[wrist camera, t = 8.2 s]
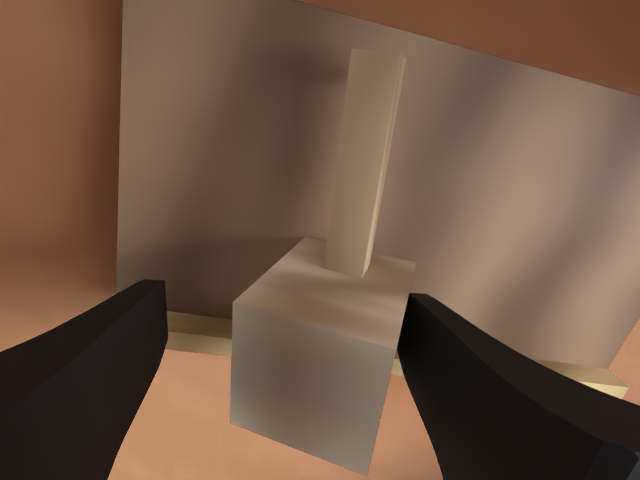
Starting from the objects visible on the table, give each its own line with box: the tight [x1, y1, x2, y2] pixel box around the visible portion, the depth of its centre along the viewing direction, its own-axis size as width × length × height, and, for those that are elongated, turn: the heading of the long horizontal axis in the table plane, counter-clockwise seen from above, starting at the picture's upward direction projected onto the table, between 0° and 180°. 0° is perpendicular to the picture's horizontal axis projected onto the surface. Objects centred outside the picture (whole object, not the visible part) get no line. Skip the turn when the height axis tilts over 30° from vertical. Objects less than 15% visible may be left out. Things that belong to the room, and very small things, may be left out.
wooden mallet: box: [230, 48, 416, 476], centre depth 10 cm, size 4×10×5 cm, turn 174°
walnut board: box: [116, 0, 640, 399], centre depth 14 cm, size 22×12×4 cm, turn 77°
